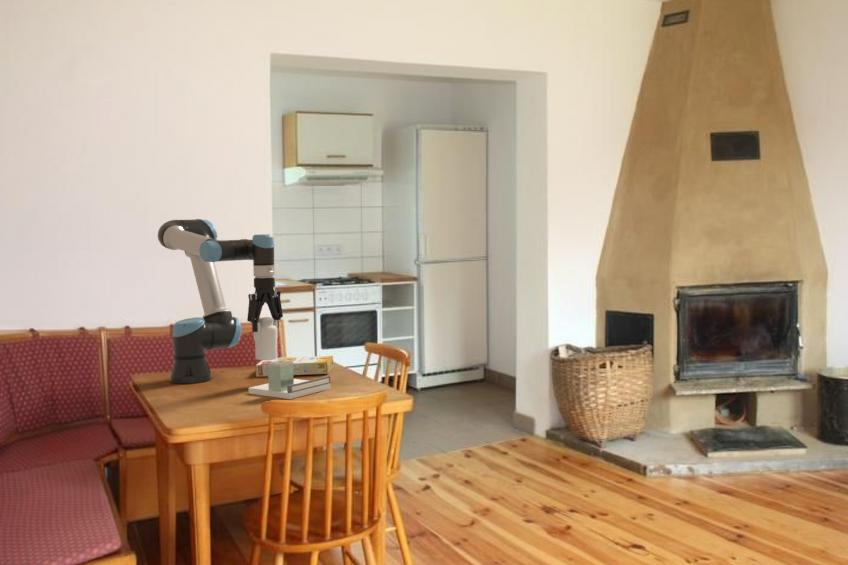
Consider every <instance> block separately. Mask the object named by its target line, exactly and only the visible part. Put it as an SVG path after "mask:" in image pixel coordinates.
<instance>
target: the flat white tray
mask: <svg viewBox="0 0 848 565" xmlns="http://www.w3.org/2000/svg"><path fill="white" fill-rule="evenodd" d="M331 388H332V386H331V376H330V375H327V376H323V377H318V378H315V379H310V380H308V379H298V378H294V384H293V385H289V386H287V390H285V391H275V390H269V383H264V384H260V385H254V386H251V387H248V394H249V395H250V394H251V395H255V396H256V395H257V396H263V397H264V396H265V397H272V398H279V399H285V400H292V399H296V398H300V397H303V396H308V395H312V394H316V393H318V392H324V391H327V390H331Z"/></svg>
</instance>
